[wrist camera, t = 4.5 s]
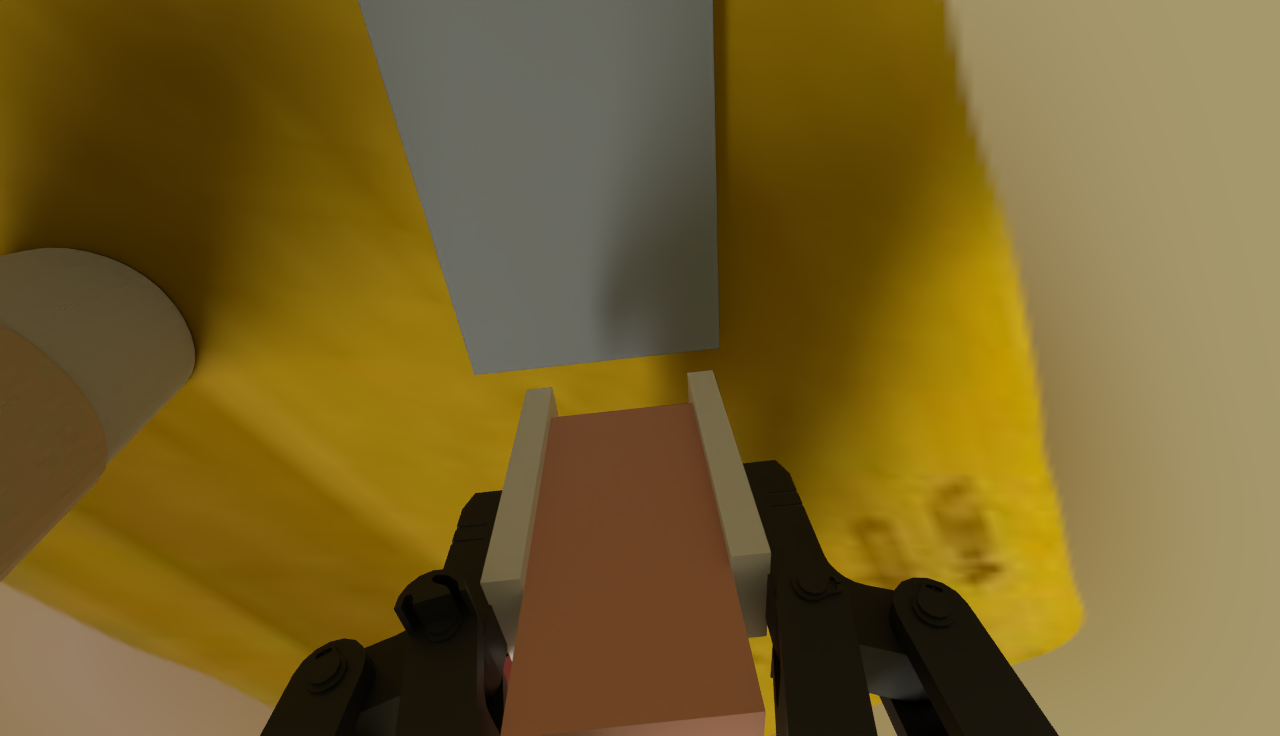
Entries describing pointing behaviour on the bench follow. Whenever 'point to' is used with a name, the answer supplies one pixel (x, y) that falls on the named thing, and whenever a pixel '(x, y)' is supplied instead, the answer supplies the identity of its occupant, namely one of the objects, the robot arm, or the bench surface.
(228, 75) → the bench surface
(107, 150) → the bench surface
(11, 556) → the coffee cup
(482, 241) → the place mat
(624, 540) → the pink block
